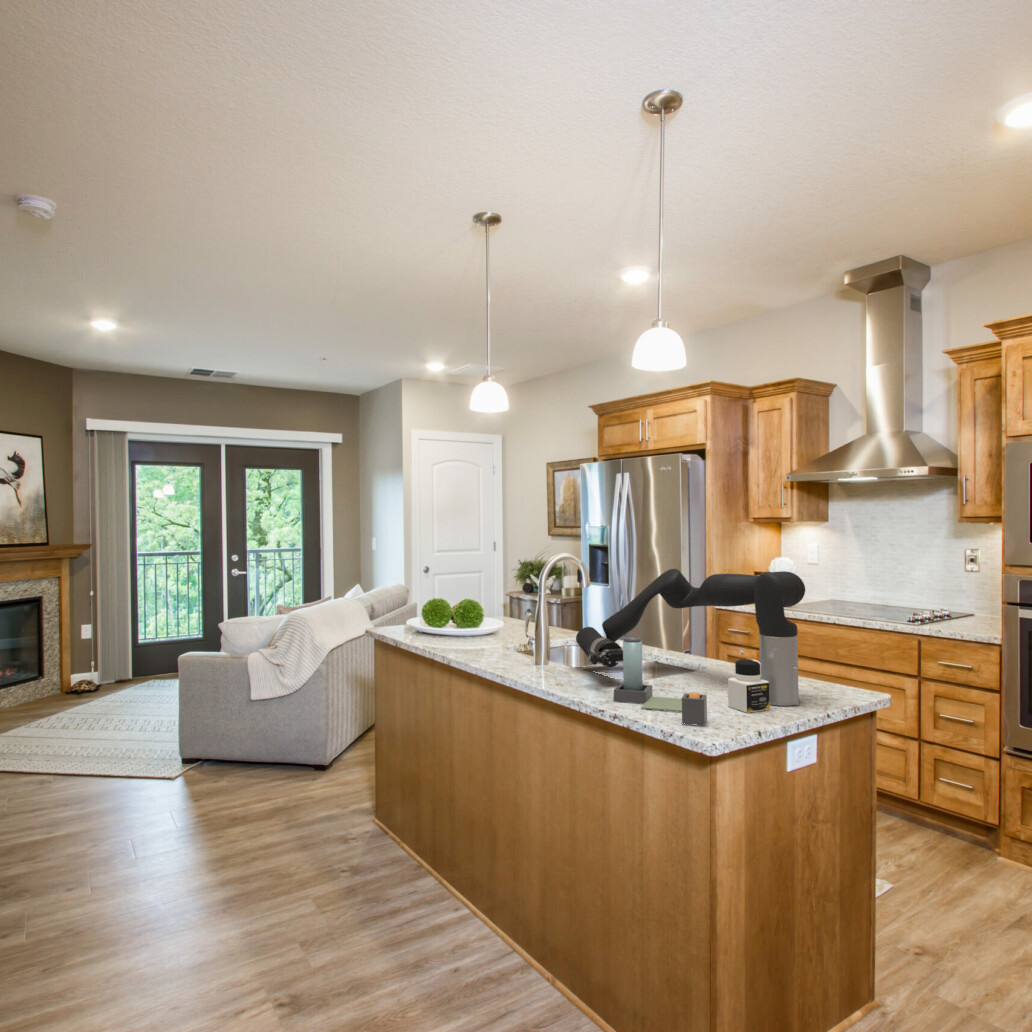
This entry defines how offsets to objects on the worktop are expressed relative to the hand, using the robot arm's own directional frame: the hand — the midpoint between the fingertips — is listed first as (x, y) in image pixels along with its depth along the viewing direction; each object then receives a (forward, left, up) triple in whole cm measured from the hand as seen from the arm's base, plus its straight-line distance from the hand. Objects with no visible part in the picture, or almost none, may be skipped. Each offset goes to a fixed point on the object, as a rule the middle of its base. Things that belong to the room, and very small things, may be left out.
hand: (622, 661), depth 199 cm
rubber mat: (-14, +10, -9) cm, 19 cm away
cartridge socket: (-4, +6, -9) cm, 11 cm away
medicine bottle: (-33, +7, -9) cm, 35 cm away
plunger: (-22, +24, -7) cm, 33 cm away
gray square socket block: (-22, +24, -9) cm, 34 cm away
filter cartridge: (-4, +6, -8) cm, 11 cm away
